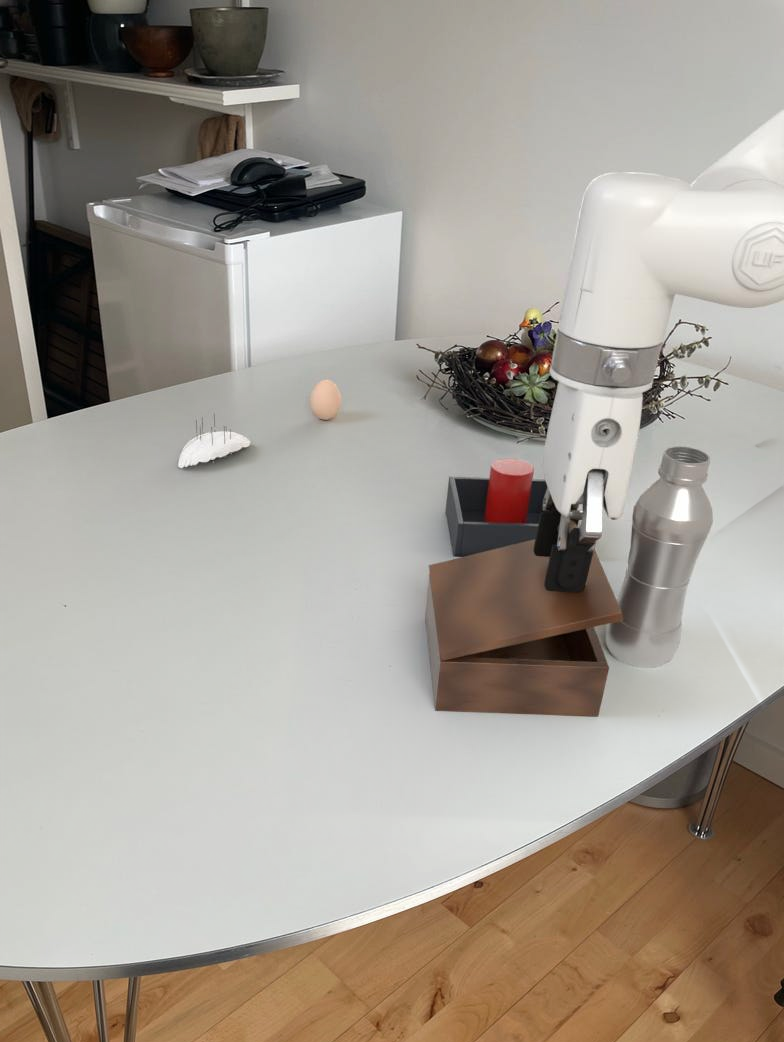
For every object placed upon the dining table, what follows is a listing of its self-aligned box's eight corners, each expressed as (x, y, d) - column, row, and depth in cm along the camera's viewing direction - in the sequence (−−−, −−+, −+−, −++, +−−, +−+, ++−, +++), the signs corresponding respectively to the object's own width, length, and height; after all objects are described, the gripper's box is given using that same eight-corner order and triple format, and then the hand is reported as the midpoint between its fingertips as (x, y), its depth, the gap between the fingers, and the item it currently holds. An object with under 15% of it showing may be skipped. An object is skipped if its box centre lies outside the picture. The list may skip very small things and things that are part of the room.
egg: (303, 418, 140) (303, 379, 137) (325, 411, 142) (326, 373, 139) (324, 427, 137) (325, 387, 134) (347, 419, 140) (348, 380, 136)
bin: (549, 514, 114) (554, 479, 112) (567, 564, 104) (574, 527, 102) (445, 511, 115) (449, 476, 112) (454, 561, 105) (458, 523, 102)
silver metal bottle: (652, 635, 93) (702, 437, 82) (687, 675, 87) (746, 469, 76) (588, 640, 92) (630, 441, 81) (620, 682, 86) (670, 474, 75)
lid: (586, 534, 88) (578, 489, 85) (623, 620, 76) (615, 571, 73) (430, 572, 91) (419, 529, 88) (441, 661, 78) (428, 614, 76)
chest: (565, 629, 93) (575, 577, 90) (596, 724, 81) (609, 667, 78) (424, 625, 94) (429, 572, 91) (434, 718, 82) (440, 661, 78)
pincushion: (234, 439, 133) (233, 399, 130) (264, 451, 129) (264, 410, 126) (165, 463, 126) (162, 421, 123) (195, 477, 122) (193, 434, 119)
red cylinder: (520, 524, 111) (530, 458, 107) (526, 543, 107) (537, 476, 103) (480, 522, 111) (488, 457, 107) (485, 541, 107) (493, 474, 103)
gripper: (687, 402, 65) (624, 630, 75) (628, 329, 79) (582, 529, 89) (575, 395, 65) (527, 624, 75) (535, 323, 79) (500, 523, 89)
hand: (557, 570), depth 82 cm, fingers closed on lid, 5 cm apart
